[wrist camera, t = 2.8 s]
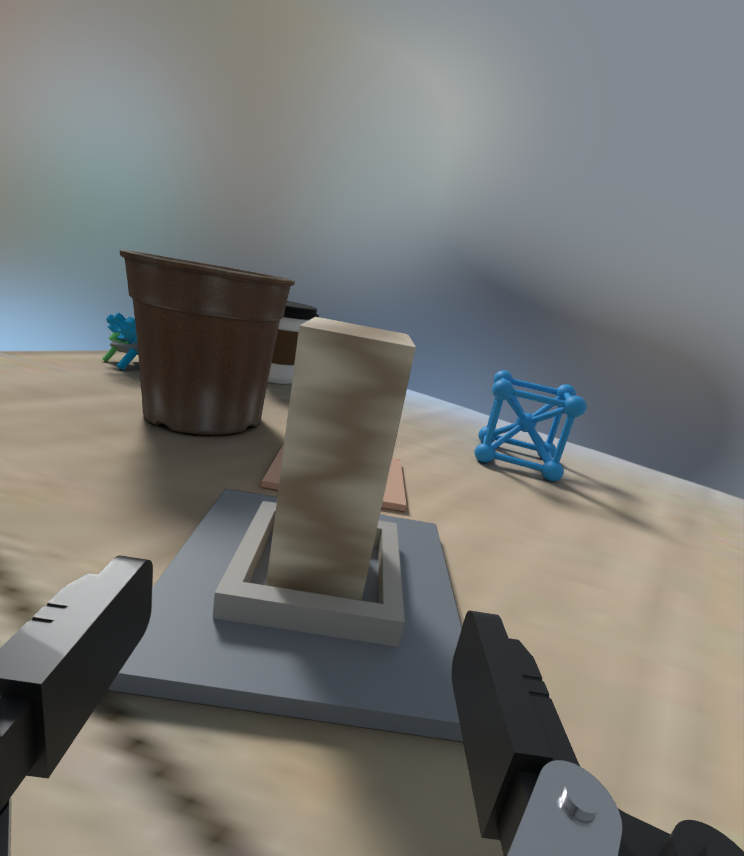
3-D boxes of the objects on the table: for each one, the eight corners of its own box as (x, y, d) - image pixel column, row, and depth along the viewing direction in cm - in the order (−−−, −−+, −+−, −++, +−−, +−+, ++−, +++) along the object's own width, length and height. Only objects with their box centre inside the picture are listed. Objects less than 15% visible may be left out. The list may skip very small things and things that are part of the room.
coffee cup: (241, 366, 74) (248, 293, 70) (306, 374, 77) (315, 305, 73) (239, 383, 64) (246, 299, 60) (313, 391, 67) (324, 312, 63)
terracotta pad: (261, 487, 36) (261, 480, 35) (285, 444, 45) (286, 439, 45) (405, 511, 36) (406, 505, 36) (399, 464, 46) (400, 459, 46)
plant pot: (111, 394, 50) (110, 244, 45) (249, 395, 59) (261, 271, 54) (131, 450, 38) (133, 253, 33) (300, 440, 47) (322, 286, 42)
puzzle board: (92, 687, 18) (91, 639, 17) (224, 500, 33) (227, 470, 32) (479, 744, 18) (495, 699, 18) (433, 535, 33) (440, 506, 33)
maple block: (264, 596, 23) (299, 325, 18) (284, 542, 27) (315, 316, 23) (359, 611, 23) (415, 346, 19) (362, 555, 28) (407, 334, 23)
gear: (192, 363, 63) (143, 311, 56) (168, 395, 61) (112, 345, 53) (145, 355, 69) (94, 307, 61) (121, 384, 66) (64, 337, 58)
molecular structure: (471, 462, 51) (494, 378, 47) (476, 438, 60) (496, 367, 57) (561, 486, 48) (591, 400, 45) (552, 458, 58) (577, 385, 54)
